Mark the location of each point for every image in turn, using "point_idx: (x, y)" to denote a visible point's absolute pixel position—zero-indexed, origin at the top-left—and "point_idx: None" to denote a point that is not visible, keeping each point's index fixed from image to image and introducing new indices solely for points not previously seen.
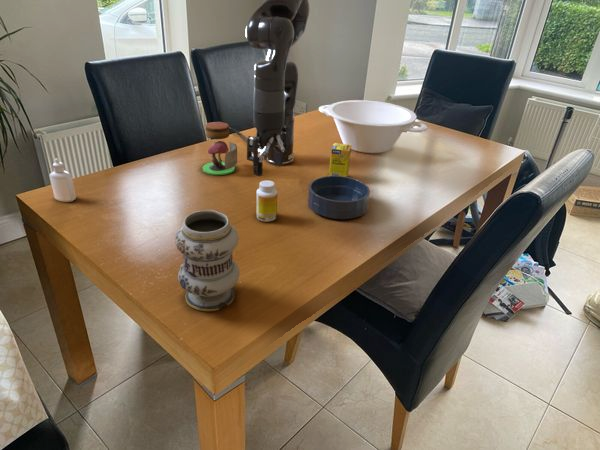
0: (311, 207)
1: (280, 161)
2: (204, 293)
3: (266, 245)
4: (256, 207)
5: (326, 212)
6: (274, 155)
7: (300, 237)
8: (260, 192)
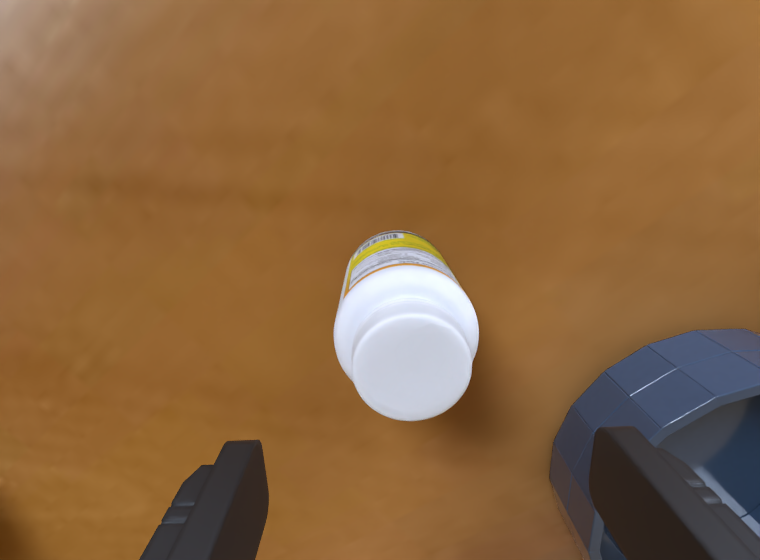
0: (580, 407)
1: (619, 540)
2: None
3: (219, 414)
4: (353, 262)
5: (558, 493)
6: (671, 514)
7: (358, 468)
8: (345, 336)
